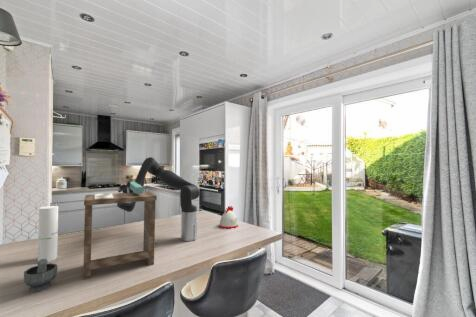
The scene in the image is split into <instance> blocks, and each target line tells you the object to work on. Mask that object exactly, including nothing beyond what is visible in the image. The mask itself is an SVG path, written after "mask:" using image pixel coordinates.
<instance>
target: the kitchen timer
mask: <svg viewBox="0 0 476 317" xmlns="http://www.w3.org/2000/svg"><path fill="white" fill-rule="evenodd" d="M236 215H237V214H235V213H234V207H233V206H232V205H231V206H230V205H229V206H227V208H226V209H225V210H224V213H222V215H221V216H220V221H219V228H221V229H224V228H226V229H225V230H232V229H231V228H234V229H237V228H238V227H239V222H238V218H237V216H236ZM236 227H237V228H236Z"/></svg>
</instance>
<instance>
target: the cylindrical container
mask: <svg viewBox="0 0 476 317" xmlns="http://www.w3.org/2000/svg"><path fill="white" fill-rule="evenodd" d="M58 231H59V205H47V206H41V207H39V211H38V235H37V236H38V240H37V241H38V243H37V262H38V261H39V260H41V259H47V261H48V263H50V262H52V261H55V260H56V259H57V258H58V238H59V235H58V234H59V232H58Z"/></svg>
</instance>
